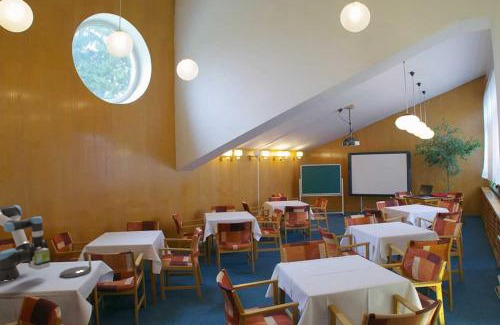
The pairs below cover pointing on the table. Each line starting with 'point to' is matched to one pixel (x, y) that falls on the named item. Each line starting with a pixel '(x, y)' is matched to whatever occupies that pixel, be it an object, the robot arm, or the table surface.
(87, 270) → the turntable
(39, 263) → the tea box
